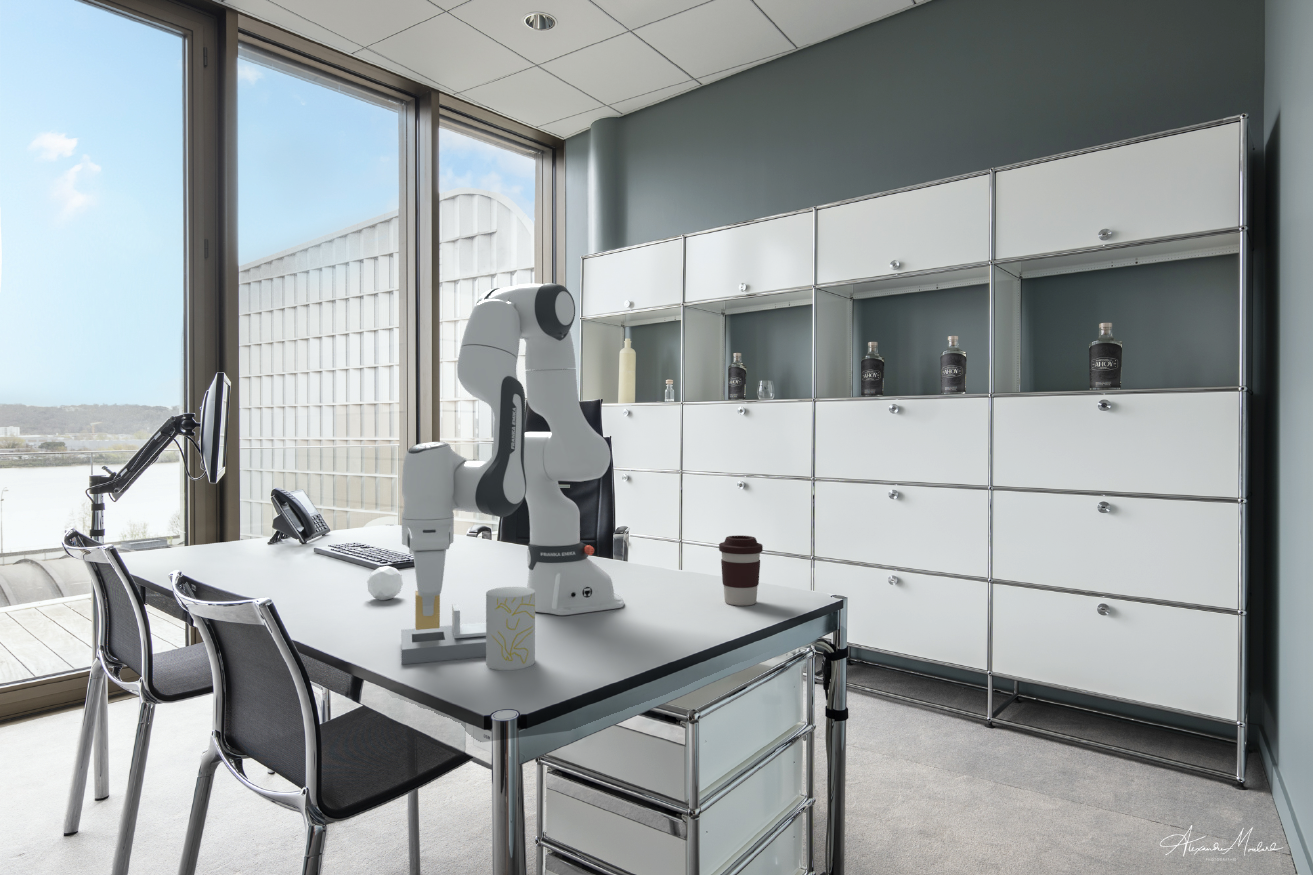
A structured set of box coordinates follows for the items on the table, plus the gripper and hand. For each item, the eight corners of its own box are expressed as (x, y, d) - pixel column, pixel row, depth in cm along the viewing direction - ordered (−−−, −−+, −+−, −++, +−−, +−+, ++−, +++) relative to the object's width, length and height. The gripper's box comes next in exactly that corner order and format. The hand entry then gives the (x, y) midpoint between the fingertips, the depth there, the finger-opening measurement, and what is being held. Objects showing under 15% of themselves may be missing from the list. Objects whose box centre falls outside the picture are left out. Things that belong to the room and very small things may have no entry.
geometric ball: (392, 608, 173) (413, 579, 176) (382, 604, 166) (404, 573, 168) (366, 591, 174) (387, 563, 177) (355, 586, 167) (377, 556, 170)
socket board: (401, 643, 136) (401, 629, 136) (484, 635, 141) (484, 622, 141) (401, 664, 124) (401, 649, 124) (492, 655, 129) (492, 641, 129)
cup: (493, 672, 120) (493, 599, 120) (480, 658, 127) (480, 589, 127) (541, 665, 124) (541, 594, 124) (526, 652, 131) (526, 585, 131)
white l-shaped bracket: (451, 628, 136) (451, 603, 136) (487, 625, 138) (487, 600, 138) (454, 638, 130) (454, 612, 130) (492, 635, 132) (492, 609, 132)
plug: (415, 624, 133) (415, 579, 133) (438, 622, 134) (438, 578, 134) (415, 629, 129) (416, 584, 129) (439, 628, 130) (439, 582, 130)
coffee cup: (732, 595, 176) (732, 533, 176) (769, 601, 171) (770, 536, 170) (710, 603, 168) (710, 537, 168) (749, 610, 162) (749, 541, 162)
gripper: (408, 527, 140) (407, 600, 140) (410, 542, 121) (409, 626, 121) (443, 526, 142) (442, 598, 142) (450, 540, 123) (449, 623, 123)
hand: (427, 611), depth 131 cm, fingers closed on plug, 4 cm apart
